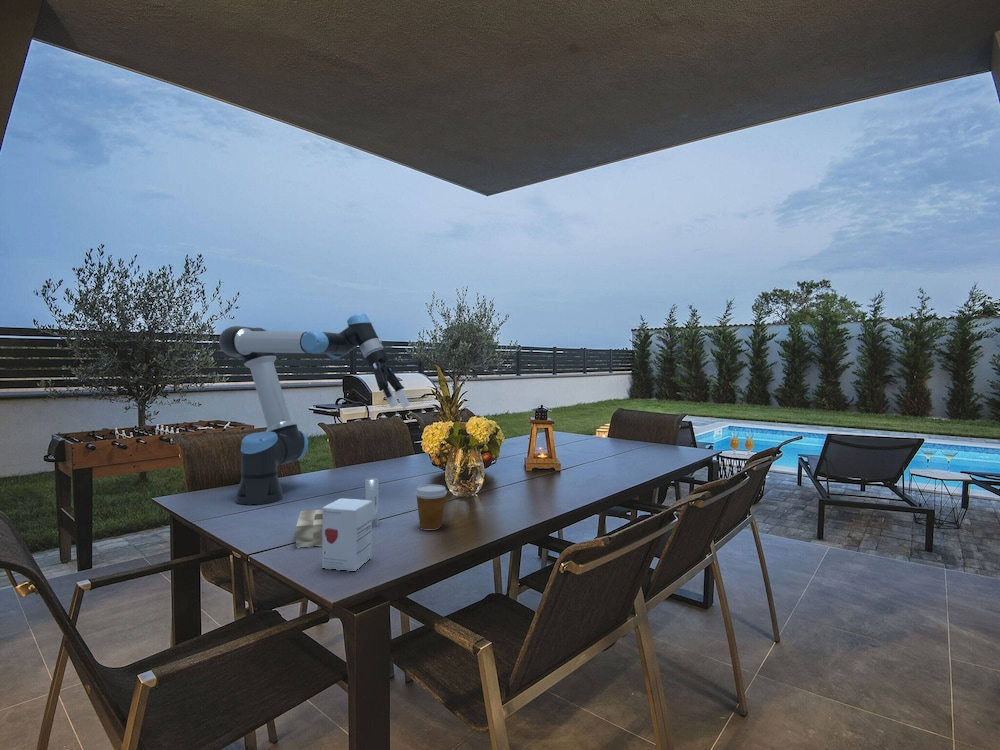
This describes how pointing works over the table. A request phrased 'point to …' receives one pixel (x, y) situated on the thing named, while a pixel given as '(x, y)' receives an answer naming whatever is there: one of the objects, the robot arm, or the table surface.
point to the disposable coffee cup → (430, 505)
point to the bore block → (309, 528)
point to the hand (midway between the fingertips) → (400, 406)
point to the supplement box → (346, 534)
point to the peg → (372, 497)
